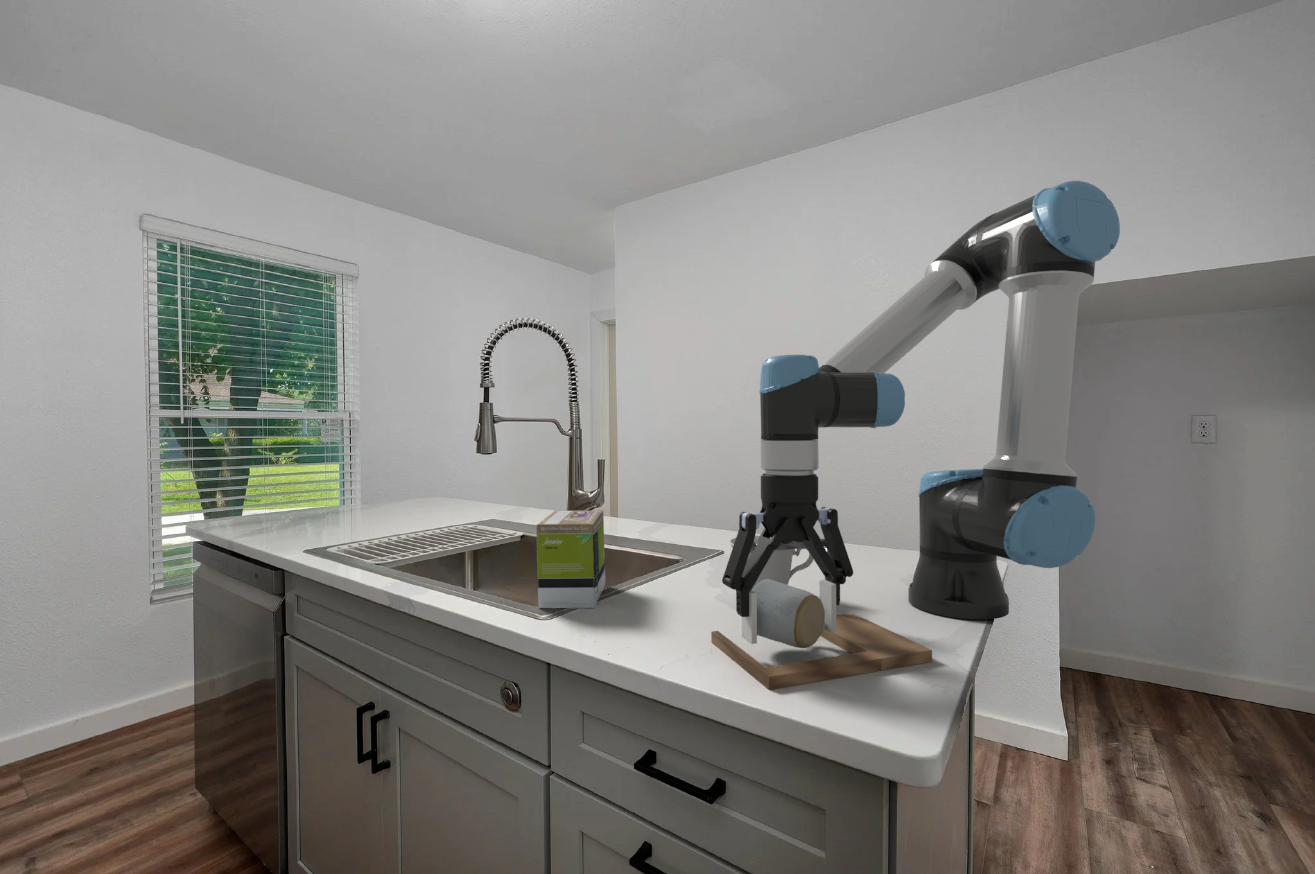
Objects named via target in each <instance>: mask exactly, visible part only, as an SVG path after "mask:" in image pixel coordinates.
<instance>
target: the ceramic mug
mask: <svg viewBox="0 0 1315 874" xmlns="http://www.w3.org/2000/svg"><path fill="white" fill-rule="evenodd" d="M752 591H754V592H756V593H757V637H758V636H759V637H762V638H765V639H768V640H770V641H771V640H772V641H774V642H777V643H780V644H784V645H787V646H790V647H794V648H799V649H807V648H811V647H812V646H813V645H815V643H816V642H818V640H819V638H820V637H821V636H820V635H821V634H823V632H824V629H825V622H824V621H825V611H824V607H823V604H822V602H821V600H820V597H818V596H817V595H816V594H814V593H811V592H810V591H808V590H805V589H801V588H797V587H796V586H791V585H789V584H788V585H786V584H783V583H780V582H777V581H774V580H771V579H764V580H762V581H760V582H759V583H758V584H757V585H756V586H755V587H754V589H753V590H752Z"/></svg>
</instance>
